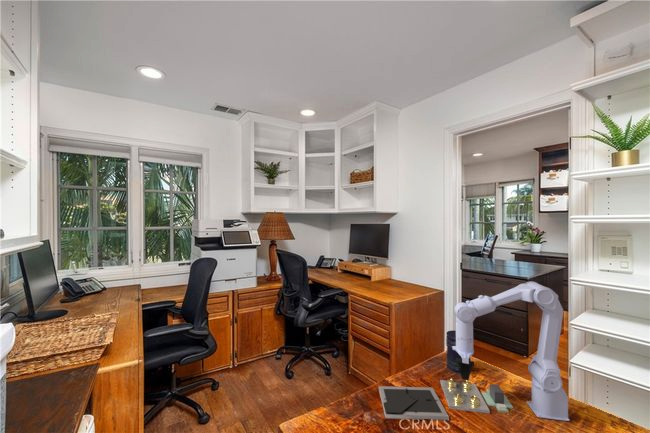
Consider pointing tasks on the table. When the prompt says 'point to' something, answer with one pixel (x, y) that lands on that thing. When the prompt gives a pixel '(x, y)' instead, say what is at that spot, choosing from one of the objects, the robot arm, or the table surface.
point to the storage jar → (452, 353)
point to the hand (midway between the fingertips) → (464, 373)
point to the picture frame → (411, 403)
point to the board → (487, 397)
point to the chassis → (463, 396)
